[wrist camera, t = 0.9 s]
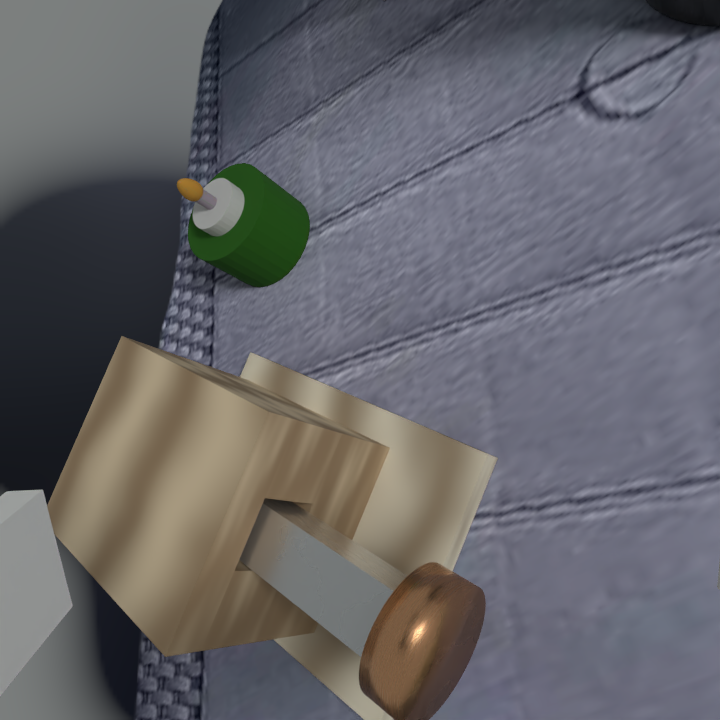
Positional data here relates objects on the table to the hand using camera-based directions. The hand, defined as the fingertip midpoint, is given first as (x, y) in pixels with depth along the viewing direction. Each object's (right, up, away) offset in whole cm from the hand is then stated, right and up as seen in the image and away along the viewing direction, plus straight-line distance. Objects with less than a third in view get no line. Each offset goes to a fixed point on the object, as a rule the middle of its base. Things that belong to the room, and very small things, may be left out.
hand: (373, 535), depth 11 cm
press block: (-3, -7, +28) cm, 29 cm away
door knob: (-1, -7, +19) cm, 20 cm away
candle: (-8, +13, +38) cm, 41 cm away
